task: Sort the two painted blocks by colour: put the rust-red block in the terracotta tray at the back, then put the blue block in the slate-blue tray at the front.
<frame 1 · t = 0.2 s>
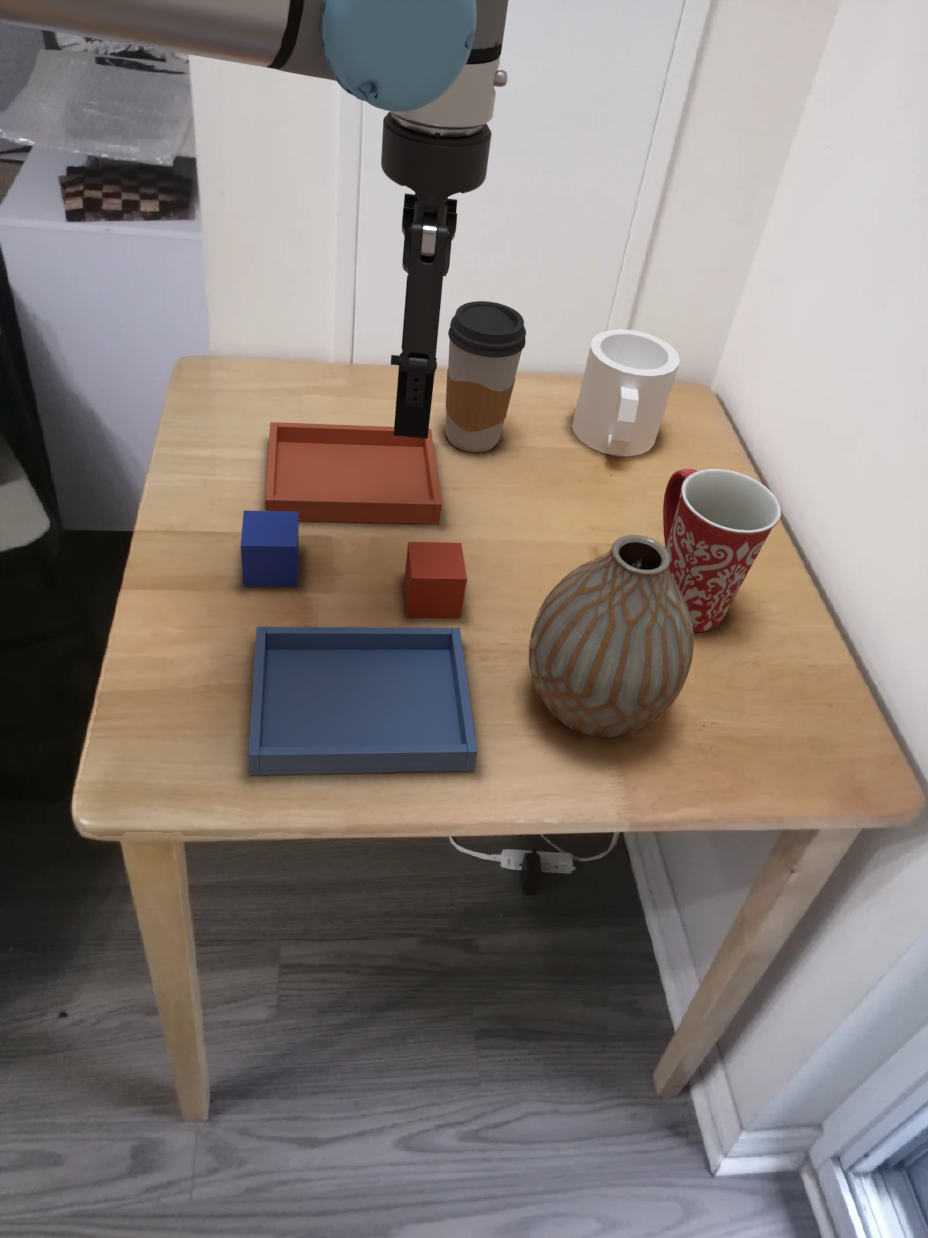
hand: (413, 389, 79), 19 cm above the table, tool pointing down, fingers open, 13 cm apart
terracotta tray: (352, 481, 100), on the table
rust block: (432, 599, 89), on the table
vase: (591, 705, 82), on the table
mug 2: (611, 437, 112), on the table
blue block: (271, 568, 89), on the table
mug: (679, 596, 94), on the table
coffee cup: (471, 439, 109), on the table
blue tray: (361, 706, 79), on the table
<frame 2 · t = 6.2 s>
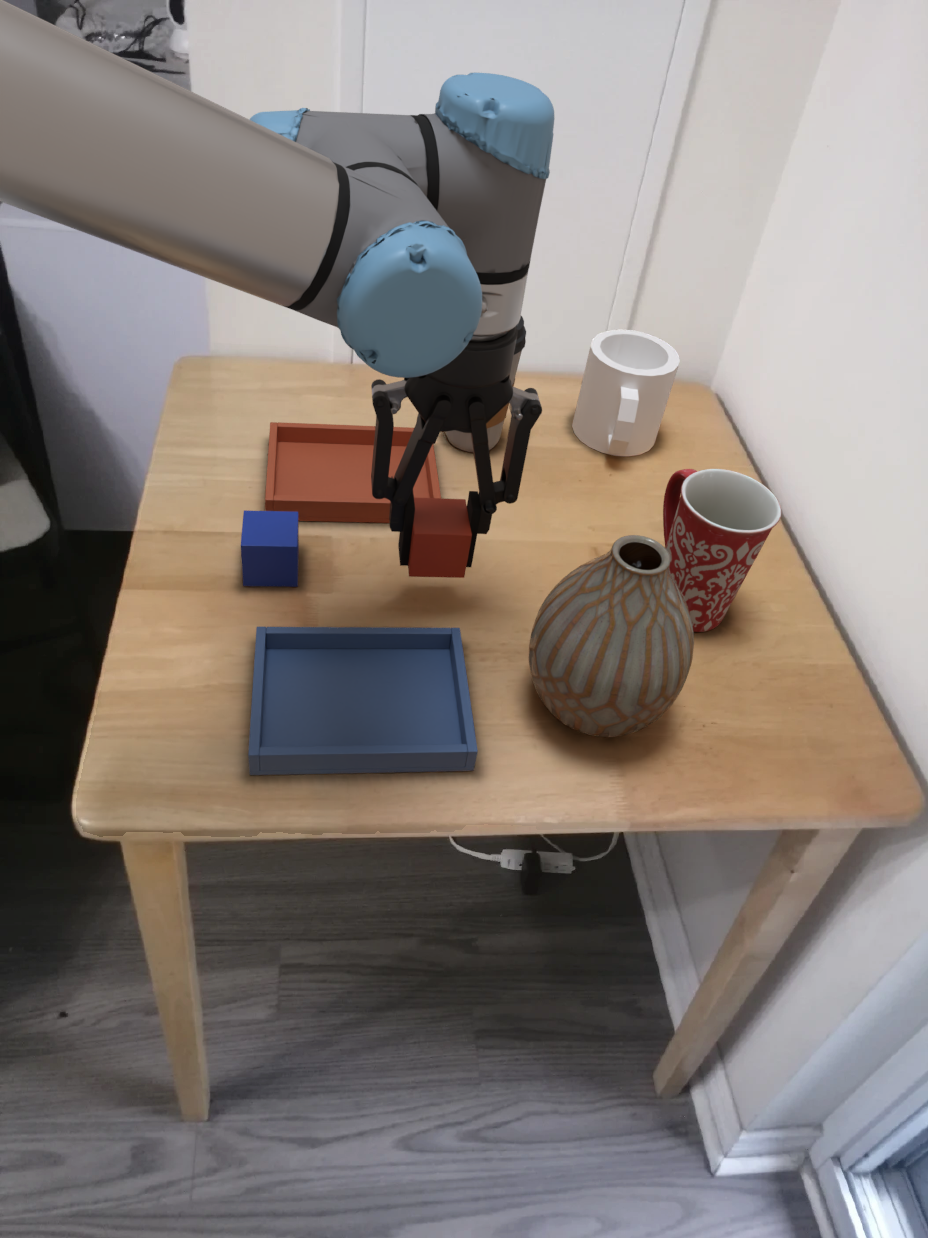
hand: (434, 556, 85), 5 cm above the table, tool pointing down, fingers closed on rust block, 5 cm apart
rust block: (434, 558, 85), point 5 cm above the table, touching gripper
everything else where it was.
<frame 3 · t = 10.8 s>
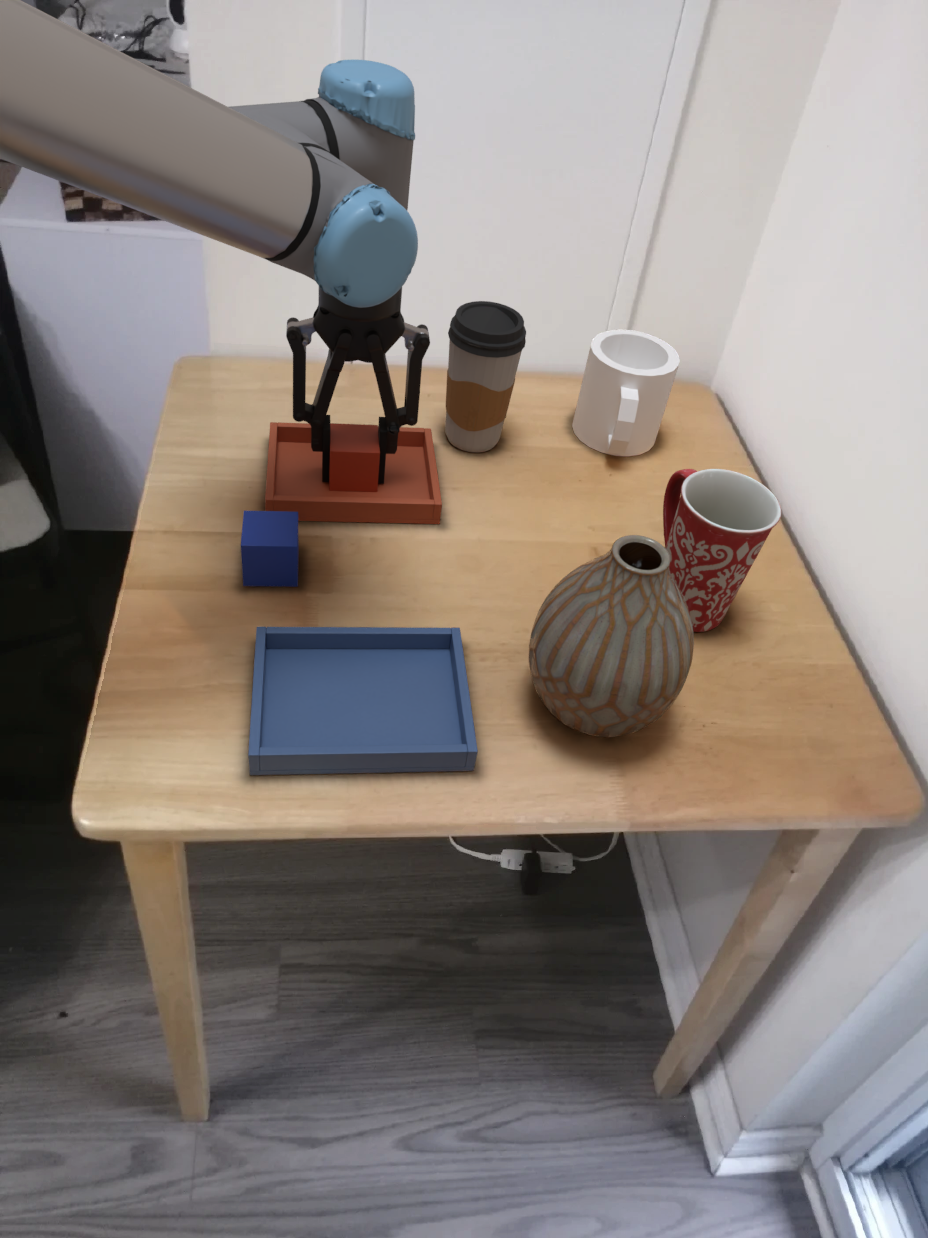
hand: (352, 474, 100), 1 cm above the table, tool pointing down, fingers closed on rust block, 5 cm apart
rust block: (352, 477, 100), point 1 cm above the table, touching gripper
everything else where it was.
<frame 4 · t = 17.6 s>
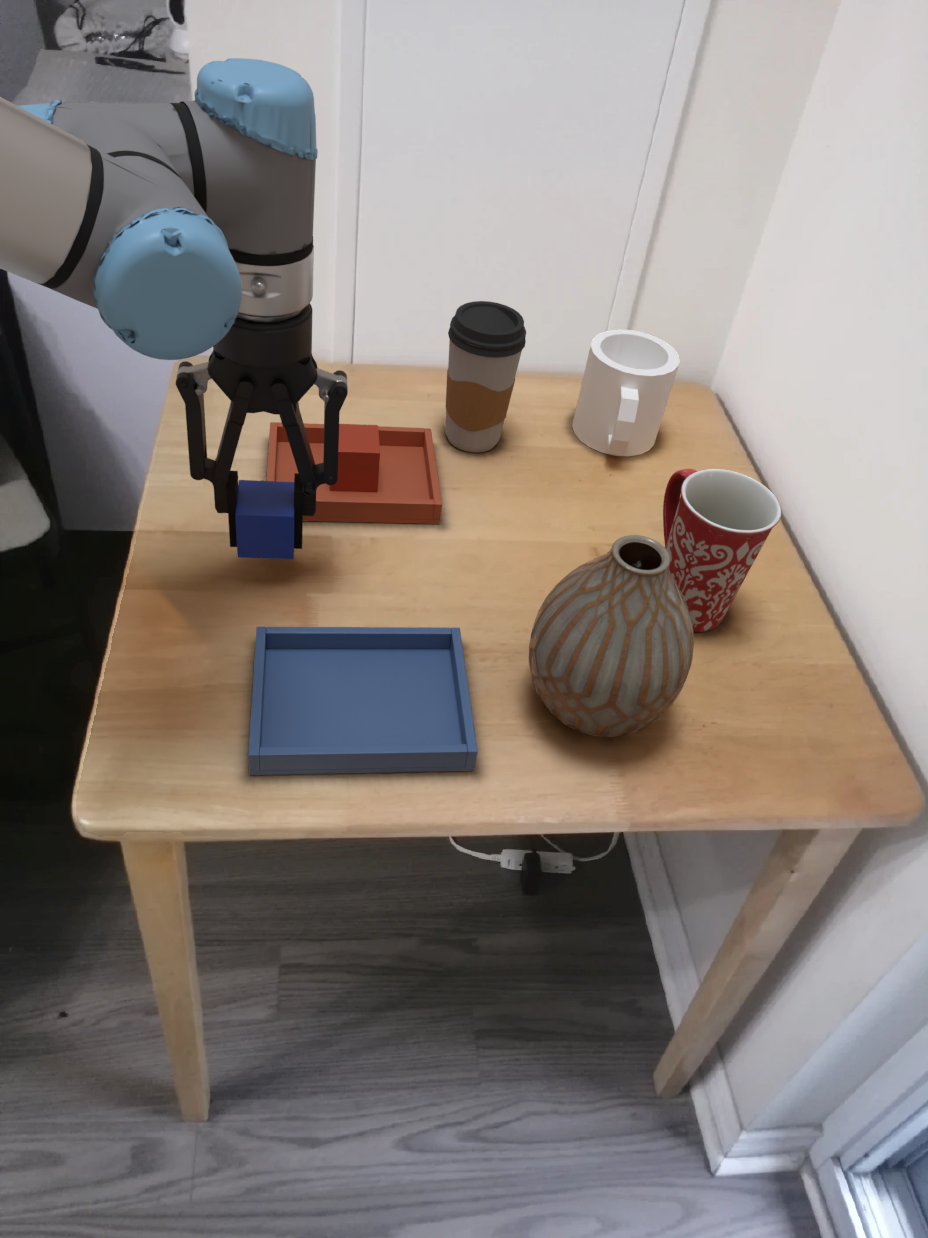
hand: (266, 537, 86), 4 cm above the table, tool pointing down, fingers closed on blue block, 5 cm apart
rust block: (353, 477, 100), point 1 cm above the table, touching terracotta tray
blue block: (266, 540, 87), point 4 cm above the table, touching gripper
everything else where it was.
when the fingers open (1 cm above the table, at t = 22.5 s): blue block stays where it is, resting on blue tray.
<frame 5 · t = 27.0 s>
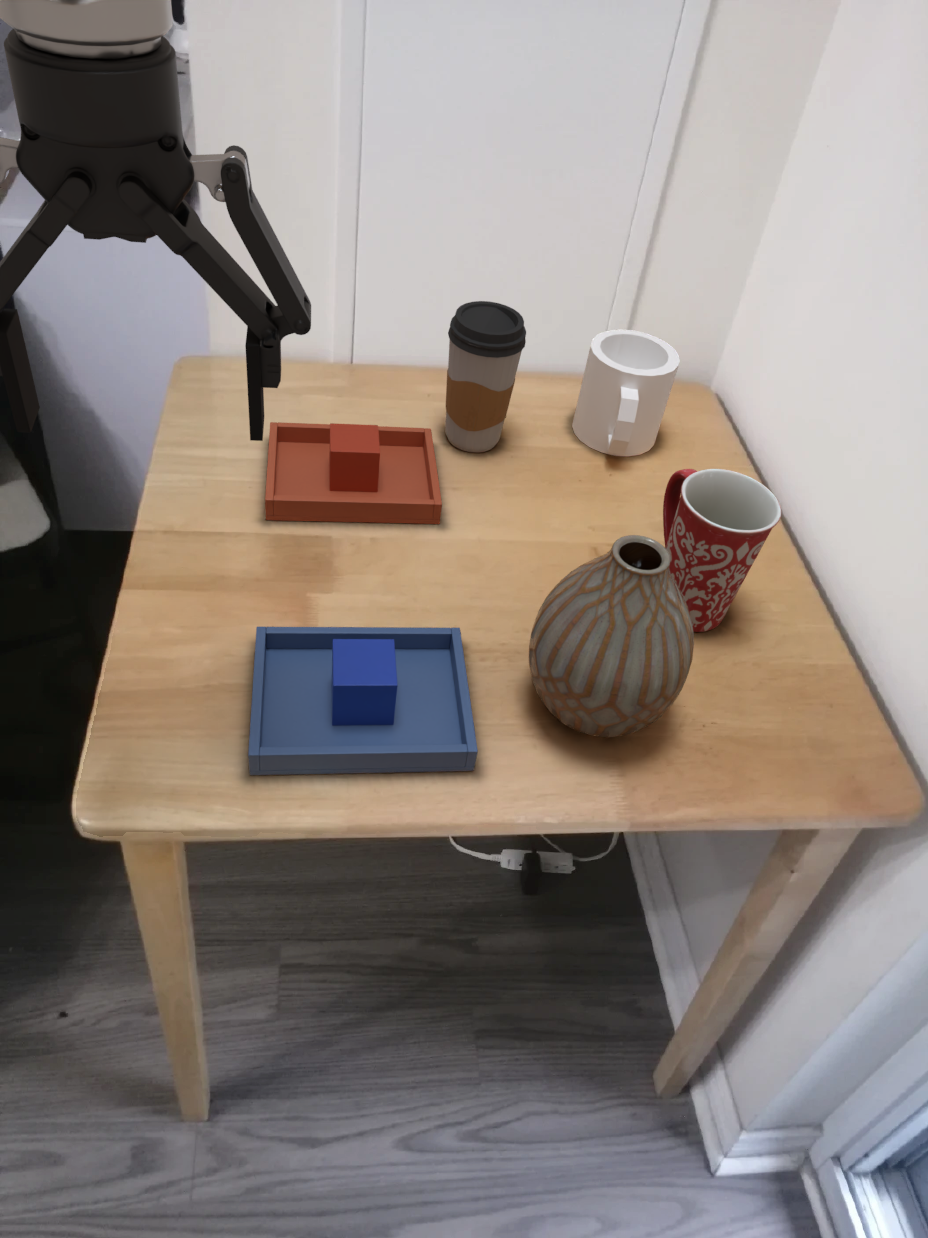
hand: (145, 424, 58), 27 cm above the table, tool pointing down, fingers open, 13 cm apart
blue block: (362, 701, 78), point 1 cm above the table, touching blue tray
everything else where it was.
at the end: rust block inside the target area in the terracotta tray (0.0 cm from its centre), point 0.6 cm above the terracotta tray's base; blue block inside the target area in the blue tray (0.0 cm from its centre), point 0.6 cm above the blue tray's base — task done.
